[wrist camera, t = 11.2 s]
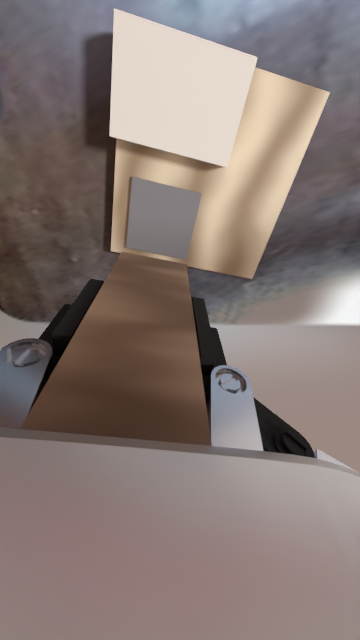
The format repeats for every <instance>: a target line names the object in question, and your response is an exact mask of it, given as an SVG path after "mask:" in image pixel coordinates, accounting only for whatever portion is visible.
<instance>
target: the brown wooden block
mask: <svg viewBox="0 0 360 640" xmlns="http://www.w3.org/2000/svg"><path fill="white" fill-rule="evenodd" d="M20 429H25V430H37V431H49V432H61V433H73V434H84V435H96V436H107V437H119V438H130V439H141V440H152V441H164V442H175V443H185V444H196V445H207V446H212V444H211V436H210V429H209V422H208V415H207V408H206V400H205V393H204V386H203V379H202V372H201V365H200V357H199V350H198V343H197V336H196V329H195V322H194V314H193V307H192V300H191V293H190V286H189V278H188V271H187V264H182V263H177V262H172V261H167V260H162V259H157V258H152V257H147V256H142V255H137V254H132V253H127V252H121V254H120V255H119V257H118V259H117V261H116V262H115V264H114V266H113V268H112V269H111V271H110V273H109V275H108V276H107V278H106V280H105V282H104V283H103V285H102V287H101V288H100V290H99V292H98V294H97V295H96V297H95V299H94V301H93V302H92V304H91V306H90V308H89V309H88V311H87V313H86V315H85V316H84V318H83V320H82V322H81V323H80V325H79V327H78V329H77V330H76V332H75V334H74V336H73V337H72V339H71V341H70V343H69V344H68V346H67V348H66V350H65V351H64V353H63V355H62V357H61V358H60V360H59V362H58V364H57V365H56V367H55V369H54V371H53V372H52V374H51V376H50V378H49V379H48V381H47V383H46V385H45V386H44V388H43V390H42V392H41V393H40V395H39V397H38V399H37V400H36V402H35V404H34V406H33V407H32V409H31V411H30V413H29V414H28V416H27V418H26V420H25V421H24V423H23V425H22V427H21V428H20Z"/></svg>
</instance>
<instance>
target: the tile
mask: <svg viewBox="0 0 360 640" xmlns="http://www.w3.org/2000/svg"><path fill="white" fill-rule="evenodd" d="M257 58H258V57H255V56H252V55H249V54H246V53H243V52H241V51H238V50H235V49H232V48H229V47H226V46H223V45H220V44H217V43H214V42H211V41H208V40H205V39H202V38H200V37H197V36H194V35H191V34H188V33H185V32H182V31H179V30H176V29H173V28H170V27H167V26H164V25H161V24H159V23H156V22H153V21H150V20H147V19H144V18H141V17H138V16H135V15H132V14H129V13H126V12H123V11H120V10H118V9H115V8H114V25H113V52H112V79H111V106H110V133H109V136H110V137H113V138H116V139H119V140H123V141H127V142H131V143H134V144H138V145H142V146H146V147H150V148H153V149H157V150H161V151H165V152H168V153H172V154H176V155H180V156H183V157H187V158H191V159H195V160H199V161H202V162H206V163H210V164H214V165H217V166H221V167H228V164H229V160H230V156H231V153H232V149H233V145H234V142H235V138H236V135H237V131H238V127H239V124H240V120H241V116H242V113H243V109H244V105H245V102H246V98H247V94H248V91H249V87H250V84H251V80H252V76H253V73H254V69H255V65H256V62H257Z"/></svg>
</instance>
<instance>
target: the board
mask: <svg viewBox="0 0 360 640" xmlns="http://www.w3.org/2000/svg"><path fill="white" fill-rule="evenodd" d="M329 94H330V92H327V91H324V90H321V89H318V88H315V87H312V86H309V85H306V84H303V83H300V82H297V81H294V80H291V79H288V78H285V77H282V76H279V75H276V74H273V73H270V72H267V71H264V70H261V69H258V68H255V69H254V73H253V76H252V80H251V84H250V87H249V91H248V94H247V98H246V102H245V105H244V109H243V113H242V116H241V120H240V124H239V127H238V131H237V135H236V138H235V142H234V145H233V149H232V153H231V156H230V160H229V164H228V167H221V166H217V165H214V164H210V163H206V162H202V161H199V160H195V159H191V158H187V157H183V156H180V155H176V154H172V153H168V152H165V151H161V150H157V149H153V148H150V147H146V146H142V145H138V144H134V143H131V142H127V141H123V140H119V139H116V157H115V177H114V196H113V216H112V236H111V251H113V252H118V253H121V252H127V253H132V254H137V255H142V256H147V257H152V258H157V259H162V260H167V261H172V262H177V263H182V264H187V266H188V267H193V268H198V269H204V270H209V271H214V272H219V273H224V274H229V275H234V276H239V277H244V278H249V279H252V278H253V276H254V274H255V271H256V269H257V266H258V264H259V262H260V259H261V257H262V254H263V252H264V250H265V247H266V245H267V242H268V240H269V238H270V235H271V233H272V230H273V228H274V226H275V223H276V221H277V218H278V216H279V214H280V211H281V209H282V206H283V204H284V202H285V199H286V197H287V194H288V192H289V190H290V187H291V185H292V182H293V180H294V178H295V175H296V173H297V170H298V168H299V166H300V163H301V161H302V158H303V156H304V154H305V151H306V149H307V146H308V144H309V142H310V139H311V137H312V134H313V132H314V130H315V127H316V125H317V122H318V120H319V118H320V115H321V113H322V110H323V108H324V106H325V103H326V101H327V98H328V96H329ZM132 177H136V178H141V179H145V180H149V181H153V182H157V183H161V184H165V185H169V186H173V187H177V188H181V189H186V190H190V191H194V192H198V193H202V196H201V200H200V204H199V208H198V213H197V217H196V221H195V225H194V229H193V234H192V238H191V242H190V246H189V251H188V255H187V259H186V260H185V259H180V258H175V257H170V256H165V255H160V254H155V253H150V252H145V251H140V250H135V249H130V248H126V244H127V232H128V221H129V209H130V198H131V186H132Z"/></svg>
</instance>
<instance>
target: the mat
mask: <svg viewBox="0 0 360 640" xmlns="http://www.w3.org/2000/svg"><path fill="white" fill-rule="evenodd" d="M201 196H202V193H198V192H194V191H190V190H186V189H181V188H177V187H173V186H169V185H165V184H161V183H157V182H153V181H149V180H145V179H141V178H136V177H132V186H131V198H130V209H129V221H128V232H127V244H126V248H130V249H135V250H140V251H145V252H150V253H155V254H160V255H165V256H170V257H175V258H180V259H185V260H186V259H187V255H188V251H189V246H190V242H191V238H192V234H193V229H194V225H195V221H196V217H197V213H198V208H199V204H200V200H201Z"/></svg>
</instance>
